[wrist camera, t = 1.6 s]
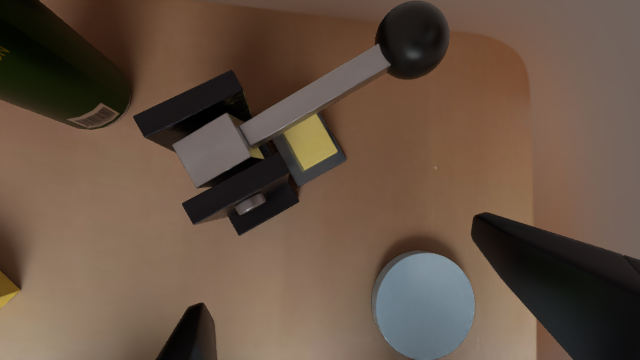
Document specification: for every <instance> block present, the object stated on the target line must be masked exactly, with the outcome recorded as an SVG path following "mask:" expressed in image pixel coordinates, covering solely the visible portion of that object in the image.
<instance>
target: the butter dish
mask: <svg viewBox="0 0 640 360" xmlns="http://www.w3.org/2000/svg"><path fill="white" fill-rule="evenodd" d="M272 142H273V144H274V146H275V147H276V149H277V151H278V152H279V153H280V155H281V157H282V159H283V160H284V162H285V164H286V166H287V167H288V169H289V171H290V174H291V176H292V177H293V179H294V181H295V183H296V185H297V186H298V187H300V186H302V185H303V184H305V183H307V182H309V181H311V180H312V179H314V178H316V177H318V176H319V175H321V174H323V173H325V172H327V171H328V170H330V169H332V168H334V167H336V166H337V165H339V164H341V163H343V162H344V161H346V158H345V156H344V154H343V152H342V151H341V149H340V147H339V145H338V144H337V142H336V140H335V138H334V137H333V135H332V133H331V131H330V130H329V128H328V126H327V124H326V122H325V121H324V119H323V117H322V115H321V114H320V112H318V113H316V114H315V115H313V116H311V117H309V118H308V119H306V120H304V121H303V122H301V123H299V124H297V125H296V126H294V127H292V128H290V129H289V130H287V131H285V132H284V133H282V134H280V135H278V136H277V137H275V138H273V139H272Z"/></svg>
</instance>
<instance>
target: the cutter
mask: <svg viewBox="0 0 640 360" xmlns="http://www.w3.org/2000/svg"><path fill="white" fill-rule="evenodd" d="M224 113H228V114H230V115H232V116H234V117H236V118H237V119H239V120H241V121H243V122H246V121H248V120H249V119H251V118H253V117H252V114H251V111H250V108H249V105H248V102H247V99H246V96H245V93H244V90H243V88H242V86H241V84H240V82H239V81H238V79H237V77H236V75H235V74H234V72H233V70H230V71H228V72H226V73H224V74H222V75H219V76H217V77H215V78H213V79H211V80H209V81H207V82H205V83H203V84H200V85H198V86H196V87H194V88H192V89H190V90H188V91H186V92H184V93H181V94H179V95H177V96H175V97H173V98H171V99H169V100H167V101H164V102H162V103H160V104H158V105H156V106H154V107H152V108H150V109H148V110H145V111H143V112H141V113H139V114H137V115H135V116H133V118H134V120H135V122H136V123H137V125H138V127H139V129H140V131H141V132H142V134H143V136H144V137H145V138H147V139H149V140H151V141H153V142H155V143H157V144H159V145H161V146H163V147H165V148H167V149H169V150H171V151H173V152H175V153H176V151H175V149H174V148H173V146H172V144H174V143H175V142H177V141H179V140H181V139H182V138H184V137H186V136H187V135H189V134H191V133H192V132H194V131H196V130H197V129H199V128H201V127H202V126H204V125H206V124H208V123H209V122H211V121H213V120H214V119H216V118H218V117H219V116H221V115H223V114H224ZM258 148H259V150H260V152H261V153H262V155H263V157H264V160H262V161H260V162H259V163H257V164H255V165H253V166H251V167H249V168H247V169H245V170H244V171H242V172H240V173H238V174H236V175H234V176H232V177H230V178H229V179H227V180H225V181H223V182H221V183H219V184H217V185H215V186H213V187H212V188H210V189H208V190H206V191H204V192H202V193H200V194H199V195H197V196H195V197H193V198H191V199H189V200H187V201H185V202H184V203H182V205H183V207H184V209H185V211H186V213H187V214H188V216H189V218H190V220H191V221H192V223H193V225H196V224H200V223H204V222H208V221H213V220H217V219H221V218H225V217H229V219H230V221H231V223H232V224H233V226H234V228H235V230H236V231H237V233H238V235H239V236H240V235H242V234H244V233H245V232H247V231H249V230H251V229H253V228H254V227H256V226H258V225H260V224H261V223H263V222H265V221H267V220H268V219H270V218H272V217H274V216H275V215H277V214H279V213H281V212H282V211H284V210H286V209H288V208H289V207H291V206H293V205H295V204H296V203H298V202H299V199H298V198H297V196H296V194H295V192H294V191H293V189H292V187H291V185H290V183H289V182H288V177H289V173H290V171H289V169H288V167H287V166H286V164H285V162H284V160H283V159H282V157H281V155H280V153H279V152H277V153H275V154H274V155H273V153H272V152H271V150H270V148H269V146H268V144H267V143H265V144H263V145H261V146H259V147H258Z"/></svg>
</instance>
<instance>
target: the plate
mask: <svg viewBox="0 0 640 360" xmlns="http://www.w3.org/2000/svg"><path fill="white" fill-rule="evenodd" d="M371 305H372V313H373V317H374V320H375V323H376V325H377V328H378V329H379V331H380V333H381V334H382V335H383V337H384V338H385V339H386V341H387V342H388V343H389V344H390V345H391V346H392V347H393V348H394V349H395V350H396V351H397V352H399V353H401V354H402V355H404V356H406V357H408V358H412V359H415V360H435V359H438V358H441V357H443V356H446V355H448V354H449V353H451V352H452V351H454V350H455V349H456V348H457V347H458V346H459V345H460V344H461V343H462V342H463V340H464V339H465V338H466V336H467V334H468V332H469V330H470V328H471V325H472V322H473V318H474V311H475V301H474V294H473V290H472V287H471V284H470V282H469V280H468V278H467V276H466V275H465V273H464V272H463V271H462V270H461V268H460V267H459V266H458V265H457V264H455V263H454V262H453V261H451V260H450V259H448V258H446V257H444V256H442V255H439V254H436V253H433V252H429V251H421V250H417V251H410V252H406V253H403V254H401V255H399V256H397V257H395V258H394V259H392V260H391V261H390V262H389V263H388V264H387V265H386V266H385V267H384V268H383V269H382V271H381V272H380V274H379V275H378V277H377V279H376V282H375V284H374V288H373V292H372V301H371Z"/></svg>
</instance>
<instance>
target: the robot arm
mask: <svg viewBox="0 0 640 360" xmlns="http://www.w3.org/2000/svg"><path fill="white" fill-rule="evenodd" d="M471 237H472V239H473V241H474V242H475V244H476V245H477V247H478V248H479V249H480V251H481V252H482V253H483V255H484V256H485V257H486V259H487V260H488V262H489V263H490V264H491V266H492V267H493V268H494V270H495V271H496V272H497V274H498V275H499V276H500V278H501V279H502V280H503V281H504V282H505V283H506V285H507V286H508V287H509V288H510V289H511V290H512V291H513V293H514V294H515V295H516V296H517V297H518V298H519V299H520V300H521V301H522V303H523V304H524V305H525V306H526V307H527V308H528V309H529V310H530V312H531V313H532V314H533V315H534V316H535V317H536V318H537V319H538V321H539V322H540V323H541V324H542V325H543V326H544V327H545V328H546V330H547V331H548V332H549V333H550V334H551V335H552V336H553V337H554V339H555V340H556V341H557V342H558V343H559V344H560V345H561V346H562V347H563V349H564V350H565V351H566V352H567V353H568V354H569V355H570V356H571V358H572V359H573V360H640V260H639V259H635V258H632V257H629V256H626V255H624V256H623V255H621V254H619V253H616V252H613V251H610V250H606V249H603V248H600V247H596V246H594V245H590V244H587V243H584V242H581V241H578V240H574V239H571V238H568V237H565V236H562V235H558V234H555V233H552V232H549V231H546V230H542V229H539V228H536V227H533V226H529V225H526V224H523V223H520V222H517V221H513V220H510V219H507V218H504V217H501V216H497V215H494V214H491V213H488V212H484V213H481V214H478V215H475V216H474V217H473V222H472V229H471ZM156 360H217V351H216V337H215V324H214V320H213V318H212V316H211V314H210V313H209V311H208V309H207V307H206V305H205V304H204V303H198V304H195V305H192V306H189V307H188V308H187V310H186V311H185V313H184V314H183V316H182V318H181V319H180V321H179V322H178V324H177V326H176V327H175V329H174V331H173V332H172V334H171V335H170V337H169V339H168V340H167V342H166V344H165V345H164V347H163V348H162V350H161V352H160V353H159V355H158V356H157V358H156Z"/></svg>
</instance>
